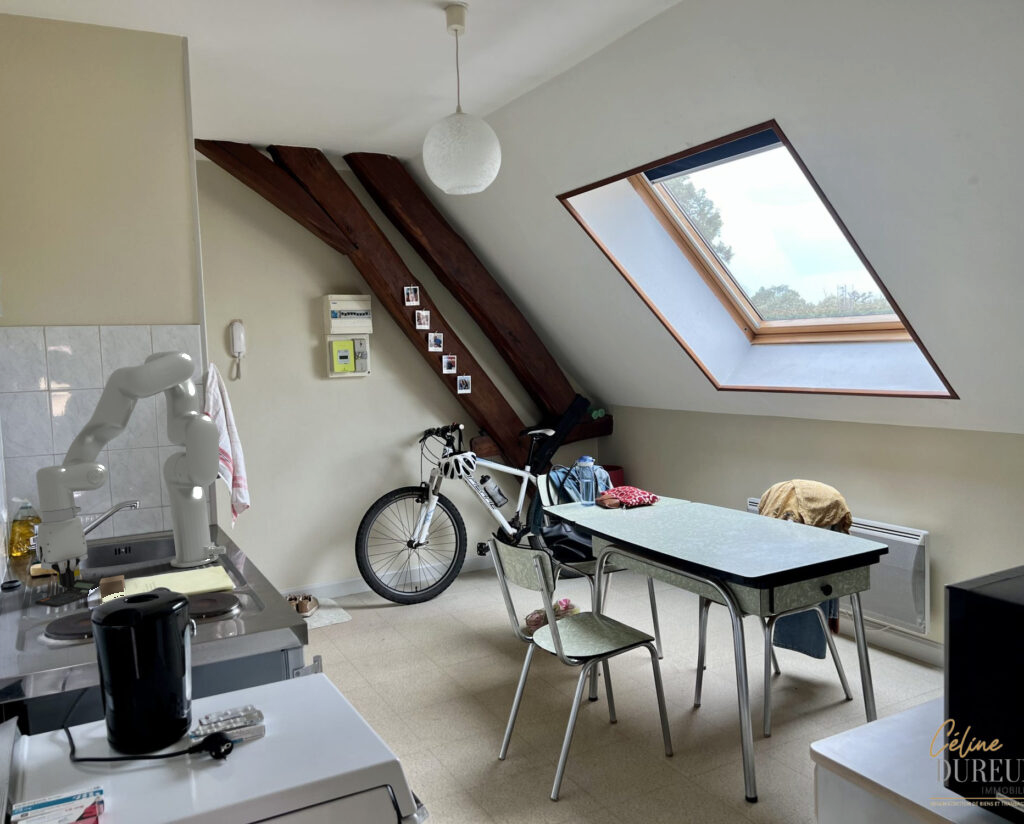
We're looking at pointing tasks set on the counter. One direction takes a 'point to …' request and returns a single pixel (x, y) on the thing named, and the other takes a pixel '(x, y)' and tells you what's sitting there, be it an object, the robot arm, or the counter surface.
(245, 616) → the counter surface
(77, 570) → the supplement bottle
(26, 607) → the counter surface
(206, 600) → the counter surface
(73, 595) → the calculator
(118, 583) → the walnut block
